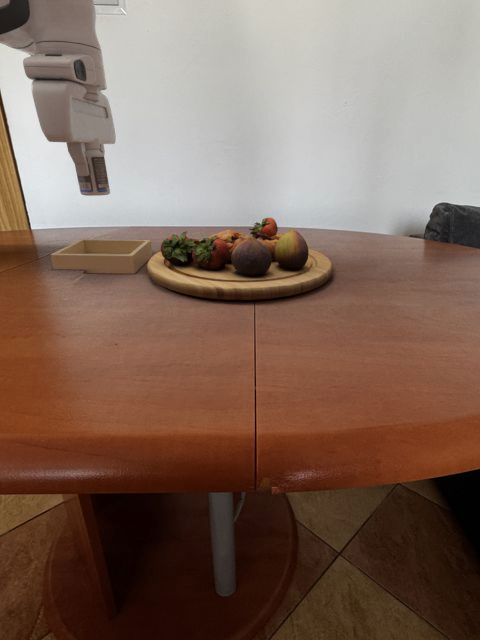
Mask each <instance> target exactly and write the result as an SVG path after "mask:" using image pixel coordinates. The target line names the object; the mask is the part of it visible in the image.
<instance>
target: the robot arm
mask: <svg viewBox="0 0 480 640" xmlns="http://www.w3.org/2000/svg"><path fill="white" fill-rule="evenodd" d="M96 21H97V11H96V4H95V0H0V44H2V45H4V46H7V47H9V48H11V49H14V50H17V51H19V52H22V53H25V54H27V55H29V56H27V57H25V58H23V59H22V65H23V71H24V74H25V76H26V77H27V79H28V80H31V85H30V86H31V88H30V89H31V94H32V99H33V103H34V108H35V111H36V115H37V119H38V123H39V127H40V130H41V131H42V134H43V135H44V137H45V138H46V140H47V142H50V143H66V148H67V152H68V154H69V156H70V158H71V160H72V162H73V164H74V169H75V173H76V176H77V175H78V176H90V175H91V170H90V164H88V163H87V159H86V156H85V153H84V151H85V145H84V143H93V142H94V140H95V139H99V142H100V149H99V150H100V152H102V153H103V154H104V155H105V145H115V144H116V138H117V137H116V134H117V133H116V130H115V123H114V119H113V113H112V109H111V105H110V102H109V99H108V97H107V96H106V95H105V94H103V92H102V91H105V90H107V88H108V85H107V79H106V72H105V66H104V65H105V64H104V59H103V52H102V48H101V47H102V46H101V44H100V41H99V38H98V36H97V31H96V23H97V22H96Z"/></svg>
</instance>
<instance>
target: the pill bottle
mask: <svg viewBox="0 0 480 640" xmlns="http://www.w3.org/2000/svg"><path fill="white" fill-rule="evenodd" d="M84 145H85V151H84V153H85V156H86V159H87V163H88V164H90V170H91V175H90V176H78V175H77V174H76V177H77V182H78V187H79V193H80V195H81V196H88V197H93V196H95V197H97V196H98V197H99V196H108V195H110V194H111V190H110V183H109V178H108V171H107V163H106V159H105V154H103V153H102V152H100V150H99V149H100V142H99V139H95V140H94V142H93V143H84Z"/></svg>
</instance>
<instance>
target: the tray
mask: <svg viewBox="0 0 480 640" xmlns="http://www.w3.org/2000/svg"><path fill="white" fill-rule="evenodd" d="M152 256H154V255H153V247H152V240H151V239H112V238H111V239H110V238H109V239H106V238H105V239H102V238H101V239H100V238H99V239H97V238H93V239H92V238H81V239H79V240H76V241H74V242H73V243H71V244H69V245H67V246H65V247H63V248H61V249H59V250H57V251H55V252H53V253H50V258H51V263H52V267H53V270H67V271H68V270H70V271H71V270H75V271H76V270H78V271H79V270H80V271H81V270H82V271H83V272H82V274H120V275H121V274H124V275H129V274H130V275H135V274H136V273H137V272H138V271H139V270H140V269H141V268H142V267H143V266H144V265H145V264H146V263H148V261H149V260H150V259H151V257H152Z"/></svg>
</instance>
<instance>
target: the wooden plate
mask: <svg viewBox="0 0 480 640" xmlns="http://www.w3.org/2000/svg"><path fill="white" fill-rule="evenodd" d="M252 225H253V227H252V228H248V230H249V231H250V233H249V235H247V234H245V233H242V232H240V231H235V230H232V229H225V230H222V231H219V232H218V233H214V234H212V235H210V236H208V237H204V238H201V239H197V238H190V237H188V236H187V233H188V231H187V230H186V231H183V232H182V233H181V234H180V235H178V234H174V233H173V234H171V236H168V237H166V238H165V239H163V241H162V243H161V244H160V251H159V252H156V253H155V254H154V255H153V256H152V257H151V258H150V259H149V260H148V261H147V264H146V270H147V274H148V276H149V277H150V278H151V279H152V280H153V281H154V283H156V284H158V285H159V286H161V287H163V288H166V289H168V290H170V291H173V292H177V293H180V294H184V295H188V296H192V297H198V298H204V299H205V298H206V299H214V300H225V301H226V300H228V301H232V300H233V301H234V300H235V301H256V300H269V299H278V298H284V297H290V296H295V295H299V294H302V293H306V292H310V291H312V290H314V289H316V288H319V287H321V286H322V285H324V284H325V283H326V282H327V281H328V280H329V279H330V278H331V276H332V274H333V270H334V266H333V263H332V262H331V260H330V259H329V257H327V256H326V255H324V254H323V253H321V252H319V251H317V250H314V249H311V248H309V246H308V242H307V241H306V240H305V238H304V237H303V236H302V234H300V233H299V232H298V231H297V230H295V229H294V228H292V229H289V230H288V231H287V232H286V233H278V231H279V228H278V224H277V222H276V220H275V219H274V218H273V217H264V218H263V219H262V221H261V223H260V222H257V221H255V223H254V224H252ZM250 235H251V236H250Z"/></svg>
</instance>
